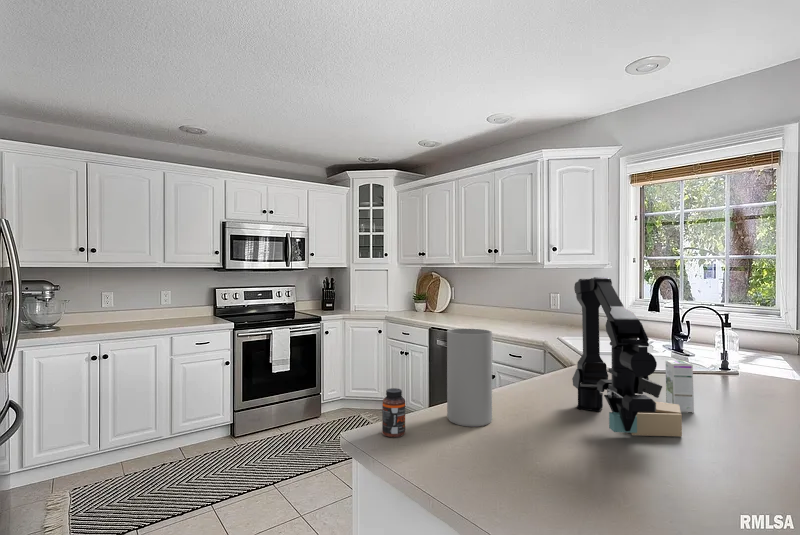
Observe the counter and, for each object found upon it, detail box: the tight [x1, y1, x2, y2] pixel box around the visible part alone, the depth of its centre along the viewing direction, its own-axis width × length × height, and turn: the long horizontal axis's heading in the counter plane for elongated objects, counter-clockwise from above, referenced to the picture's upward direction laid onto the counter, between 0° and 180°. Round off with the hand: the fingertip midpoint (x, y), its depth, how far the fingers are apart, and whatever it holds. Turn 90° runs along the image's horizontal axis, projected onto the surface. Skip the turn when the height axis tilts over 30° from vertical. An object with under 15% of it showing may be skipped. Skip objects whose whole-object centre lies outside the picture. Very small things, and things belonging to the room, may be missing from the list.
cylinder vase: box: [446, 328, 493, 428], centre depth 122 cm, size 12×12×25 cm
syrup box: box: [664, 359, 695, 414], centre depth 131 cm, size 6×6×14 cm
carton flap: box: [608, 411, 683, 437], centre depth 108 cm, size 18×3×6 cm, turn 86°
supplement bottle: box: [381, 387, 406, 438], centre depth 111 cm, size 6×6×11 cm
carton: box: [638, 400, 682, 414], centre depth 116 cm, size 12×8×6 cm, turn 60°
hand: (624, 428), depth 109 cm, fingers open, 3 cm apart
